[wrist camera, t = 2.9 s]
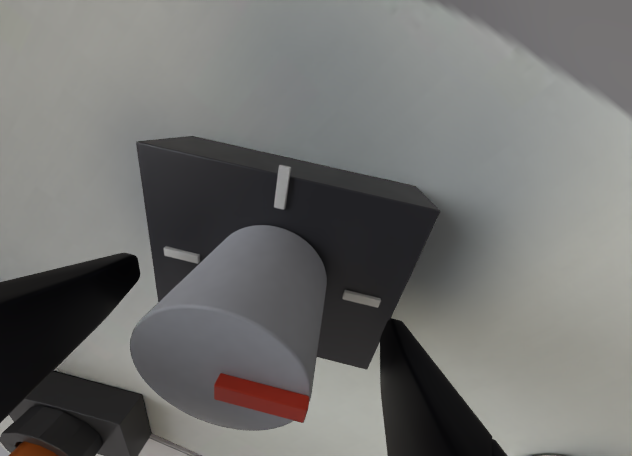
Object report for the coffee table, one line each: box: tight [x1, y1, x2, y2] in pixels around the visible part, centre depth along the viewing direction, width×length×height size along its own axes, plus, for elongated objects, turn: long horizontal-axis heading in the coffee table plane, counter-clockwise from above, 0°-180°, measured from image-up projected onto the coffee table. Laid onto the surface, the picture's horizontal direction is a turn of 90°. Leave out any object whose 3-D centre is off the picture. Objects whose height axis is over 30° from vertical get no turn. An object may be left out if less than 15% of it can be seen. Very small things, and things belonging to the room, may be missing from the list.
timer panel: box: [136, 136, 440, 369], centre depth 10 cm, size 10×9×3 cm
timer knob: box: [130, 225, 327, 430], centre depth 7 cm, size 4×4×4 cm
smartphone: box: [138, 433, 201, 456], centre depth 25 cm, size 7×1×15 cm
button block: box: [0, 371, 151, 456], centre depth 20 cm, size 11×7×4 cm, turn 79°
